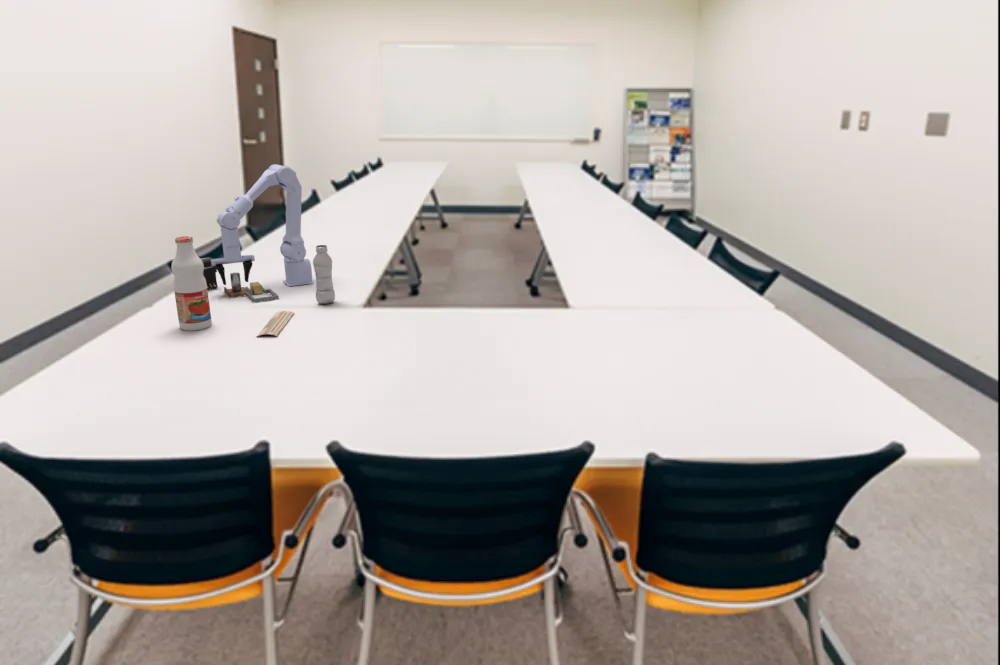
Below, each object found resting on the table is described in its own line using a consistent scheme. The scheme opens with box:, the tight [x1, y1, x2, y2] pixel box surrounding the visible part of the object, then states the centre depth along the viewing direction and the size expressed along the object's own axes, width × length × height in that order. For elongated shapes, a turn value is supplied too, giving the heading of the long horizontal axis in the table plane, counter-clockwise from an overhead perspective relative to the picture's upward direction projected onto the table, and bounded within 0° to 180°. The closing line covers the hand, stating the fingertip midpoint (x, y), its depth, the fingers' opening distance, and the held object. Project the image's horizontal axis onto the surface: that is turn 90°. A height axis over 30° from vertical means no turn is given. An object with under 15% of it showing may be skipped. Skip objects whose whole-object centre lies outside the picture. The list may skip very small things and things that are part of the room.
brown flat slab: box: [223, 286, 249, 298], centre depth 265 cm, size 7×9×2 cm
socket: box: [244, 286, 280, 303], centre depth 263 cm, size 9×19×1 cm, turn 31°
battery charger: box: [200, 257, 218, 291], centre depth 269 cm, size 7×4×11 cm, turn 134°
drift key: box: [249, 281, 264, 295], centre depth 266 cm, size 3×6×3 cm, turn 31°
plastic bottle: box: [312, 244, 336, 305], centre depth 250 cm, size 6×7×20 cm
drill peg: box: [229, 272, 242, 292], centre depth 263 cm, size 3×3×6 cm
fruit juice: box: [171, 235, 213, 332], centre depth 225 cm, size 9×9×28 cm
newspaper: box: [256, 310, 295, 338], centre depth 230 cm, size 24×7×2 cm, turn 2°
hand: (235, 282), depth 264 cm, fingers open, 7 cm apart
